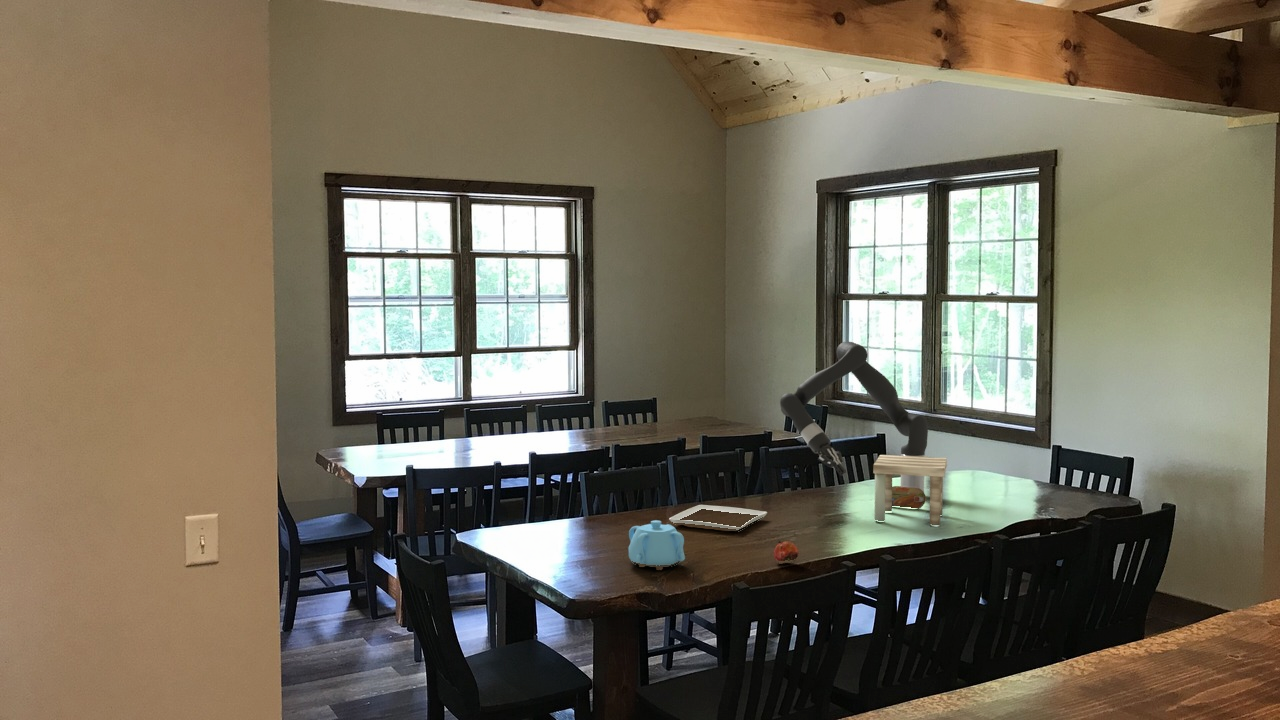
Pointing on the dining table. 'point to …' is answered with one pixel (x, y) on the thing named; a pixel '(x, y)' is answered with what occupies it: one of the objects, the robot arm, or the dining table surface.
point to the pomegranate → (785, 551)
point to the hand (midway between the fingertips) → (843, 474)
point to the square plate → (716, 508)
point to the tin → (908, 497)
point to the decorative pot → (656, 544)
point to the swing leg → (880, 497)
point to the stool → (916, 467)
